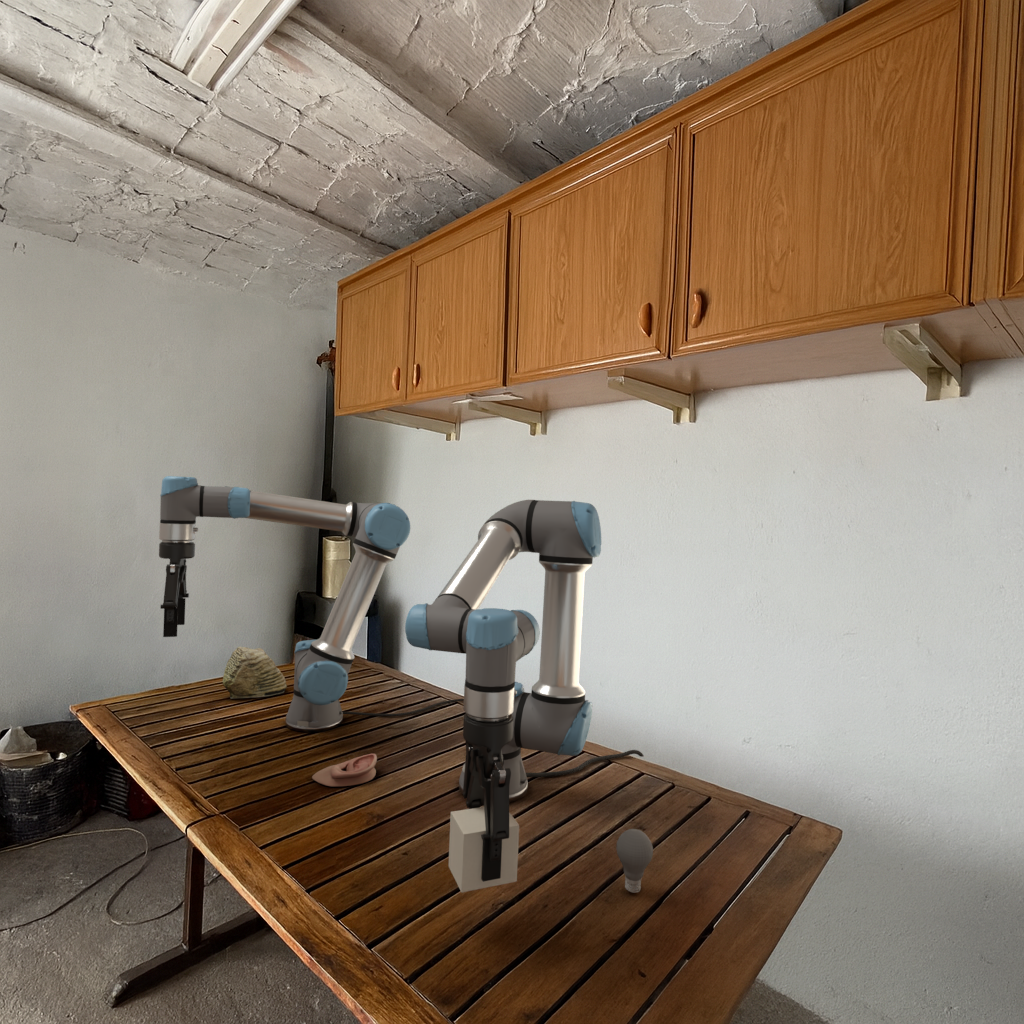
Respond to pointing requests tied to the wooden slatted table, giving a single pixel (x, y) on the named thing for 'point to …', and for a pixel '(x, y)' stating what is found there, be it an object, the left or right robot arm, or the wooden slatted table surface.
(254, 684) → the fossil
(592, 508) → the right robot arm
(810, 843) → the wooden slatted table surface
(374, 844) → the wooden slatted table surface
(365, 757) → the anatomical model
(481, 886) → the beige block
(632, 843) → the light bulb
